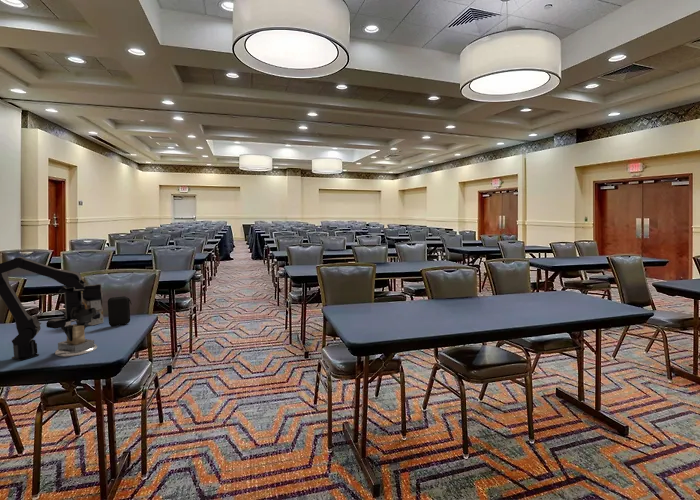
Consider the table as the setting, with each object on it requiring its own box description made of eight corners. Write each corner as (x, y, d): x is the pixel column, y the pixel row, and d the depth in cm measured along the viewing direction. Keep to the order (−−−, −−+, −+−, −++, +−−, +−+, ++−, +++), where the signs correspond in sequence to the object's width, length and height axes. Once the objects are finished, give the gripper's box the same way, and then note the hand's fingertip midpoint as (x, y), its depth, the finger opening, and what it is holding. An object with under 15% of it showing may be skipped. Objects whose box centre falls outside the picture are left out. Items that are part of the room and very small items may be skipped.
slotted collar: (70, 358, 160) (69, 349, 159) (47, 353, 165) (46, 344, 165) (104, 347, 173) (104, 338, 172) (82, 343, 178) (81, 335, 178)
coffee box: (104, 322, 213) (102, 292, 212) (91, 325, 207) (89, 294, 206) (93, 320, 217) (92, 291, 216) (81, 323, 212) (79, 293, 210)
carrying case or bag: (132, 322, 213) (130, 295, 212) (133, 323, 210) (131, 295, 209) (108, 326, 206) (106, 297, 205) (109, 327, 204) (107, 298, 203)
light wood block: (76, 349, 166) (75, 327, 165) (67, 347, 168) (66, 326, 168) (85, 346, 169) (84, 325, 168) (75, 345, 172) (74, 324, 171)
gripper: (62, 308, 155) (65, 348, 157) (108, 299, 173) (110, 335, 174) (44, 306, 160) (47, 345, 161) (90, 297, 177) (92, 332, 178)
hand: (75, 339), depth 168 cm, fingers closed on light wood block, 3 cm apart
